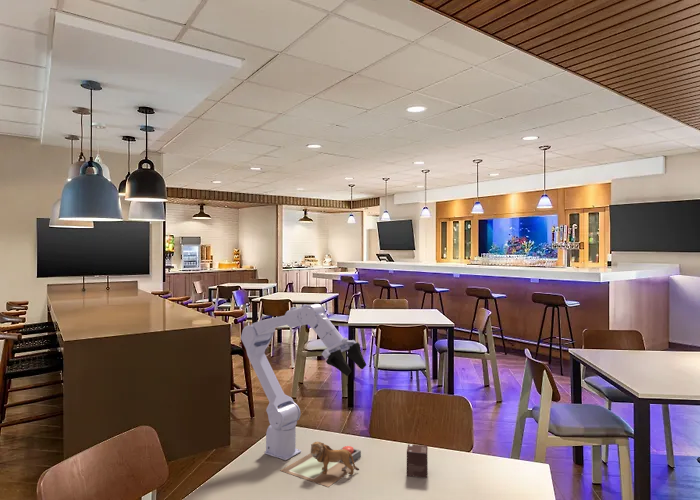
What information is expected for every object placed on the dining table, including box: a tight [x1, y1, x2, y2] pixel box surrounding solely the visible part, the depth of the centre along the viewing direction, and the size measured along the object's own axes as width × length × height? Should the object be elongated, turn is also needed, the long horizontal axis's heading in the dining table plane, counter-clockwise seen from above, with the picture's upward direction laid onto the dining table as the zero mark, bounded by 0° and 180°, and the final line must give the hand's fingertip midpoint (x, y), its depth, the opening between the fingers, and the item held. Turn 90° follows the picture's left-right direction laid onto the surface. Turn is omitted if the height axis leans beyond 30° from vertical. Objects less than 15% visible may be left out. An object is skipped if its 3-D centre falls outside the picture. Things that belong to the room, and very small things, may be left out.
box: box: [406, 443, 429, 479], centre depth 144 cm, size 6×6×7 cm
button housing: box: [339, 448, 362, 464], centre depth 154 cm, size 6×6×2 cm
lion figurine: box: [309, 441, 360, 476], centre depth 144 cm, size 15×5×9 cm, turn 92°
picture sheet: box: [279, 453, 357, 488], centre depth 146 cm, size 18×15×1 cm
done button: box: [341, 445, 355, 455], centre depth 154 cm, size 4×4×2 cm
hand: (356, 370), depth 141 cm, fingers open, 7 cm apart
